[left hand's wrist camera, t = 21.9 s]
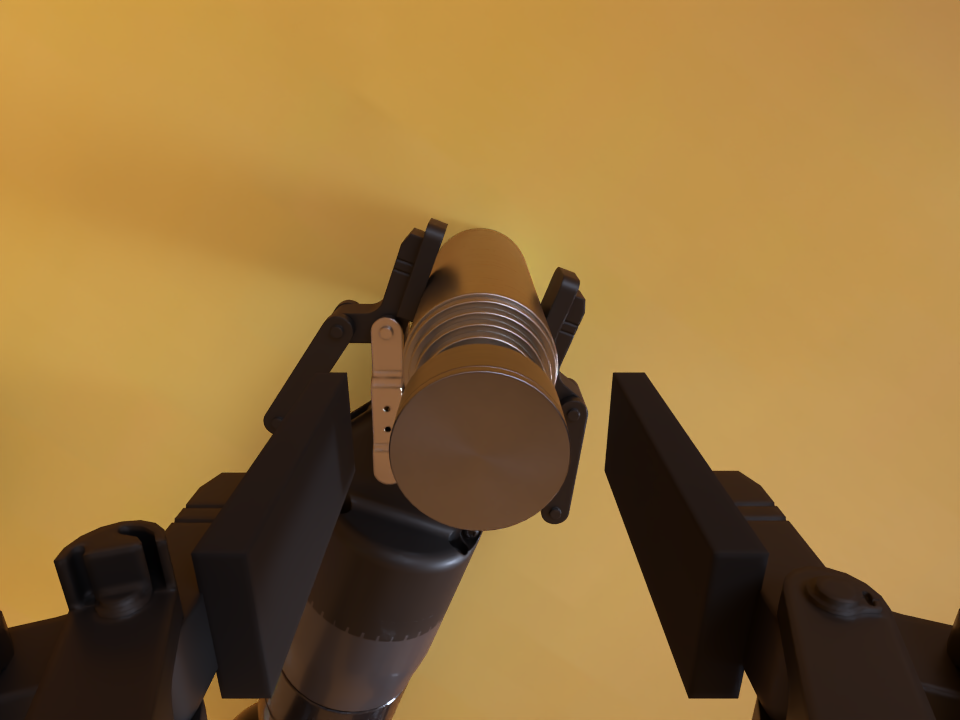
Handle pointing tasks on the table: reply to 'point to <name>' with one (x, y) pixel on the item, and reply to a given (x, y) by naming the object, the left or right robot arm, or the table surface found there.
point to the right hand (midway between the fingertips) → (503, 250)
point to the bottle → (479, 304)
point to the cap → (479, 438)
